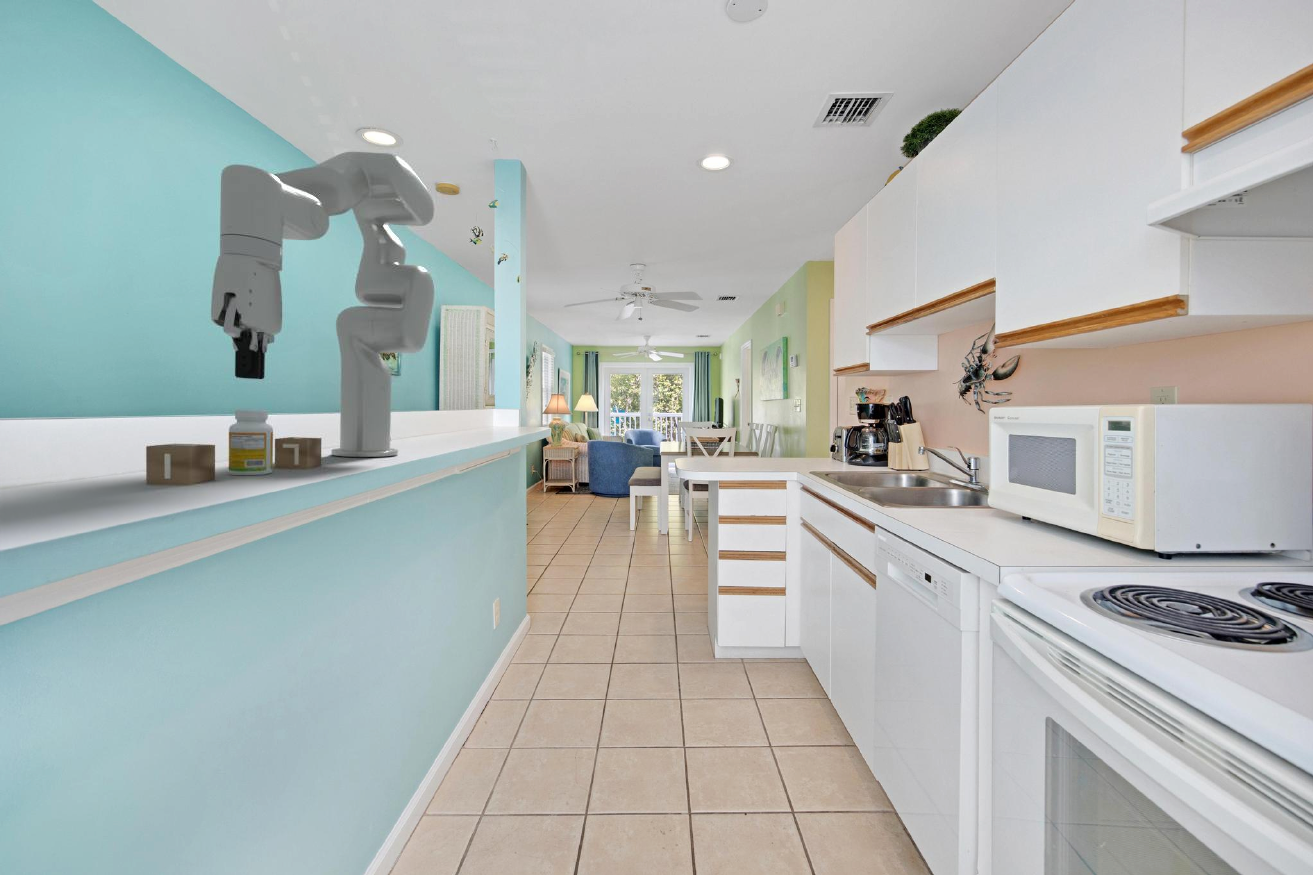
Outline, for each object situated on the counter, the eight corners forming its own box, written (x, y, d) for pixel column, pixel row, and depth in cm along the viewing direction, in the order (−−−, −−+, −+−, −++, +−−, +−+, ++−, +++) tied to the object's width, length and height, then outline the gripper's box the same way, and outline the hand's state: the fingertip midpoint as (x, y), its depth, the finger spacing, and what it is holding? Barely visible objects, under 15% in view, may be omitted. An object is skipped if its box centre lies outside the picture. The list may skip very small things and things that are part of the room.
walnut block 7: (290, 465, 95) (290, 436, 95) (321, 466, 96) (321, 437, 96) (274, 468, 90) (274, 438, 90) (306, 469, 91) (306, 439, 91)
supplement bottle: (247, 471, 86) (248, 409, 85) (281, 472, 86) (281, 410, 85) (219, 474, 81) (219, 409, 80) (254, 476, 80) (255, 410, 80)
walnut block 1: (174, 479, 75) (174, 443, 75) (215, 480, 76) (215, 444, 75) (145, 485, 70) (145, 445, 70) (188, 486, 71) (188, 446, 70)
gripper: (253, 267, 88) (251, 380, 89) (188, 237, 74) (186, 373, 74) (303, 270, 89) (301, 382, 90) (249, 241, 75) (247, 376, 75)
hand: (249, 378), depth 82 cm, fingers closed
